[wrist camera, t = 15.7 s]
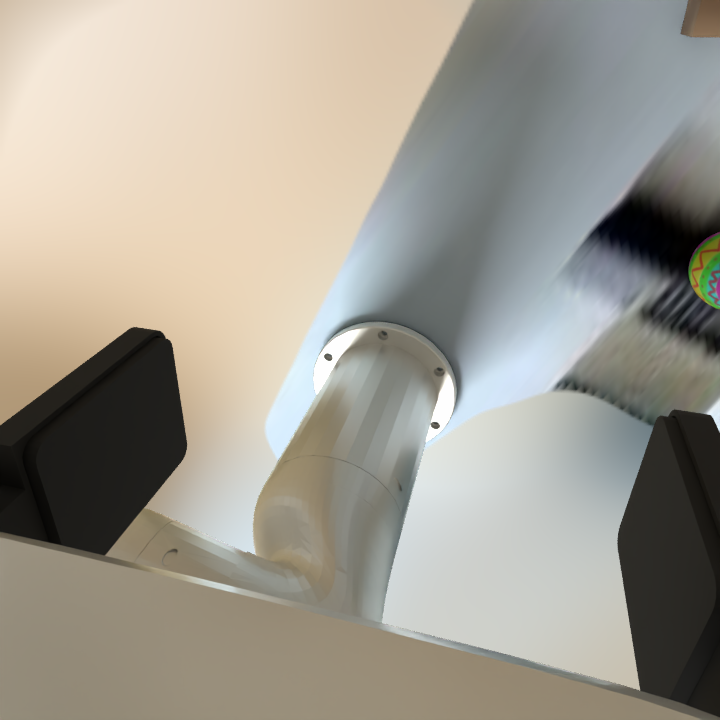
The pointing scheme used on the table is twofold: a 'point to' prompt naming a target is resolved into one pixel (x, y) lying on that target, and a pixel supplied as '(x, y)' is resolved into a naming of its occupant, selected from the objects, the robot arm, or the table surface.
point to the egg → (707, 270)
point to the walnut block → (702, 19)
